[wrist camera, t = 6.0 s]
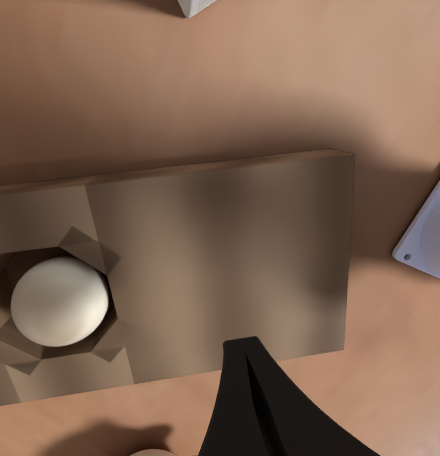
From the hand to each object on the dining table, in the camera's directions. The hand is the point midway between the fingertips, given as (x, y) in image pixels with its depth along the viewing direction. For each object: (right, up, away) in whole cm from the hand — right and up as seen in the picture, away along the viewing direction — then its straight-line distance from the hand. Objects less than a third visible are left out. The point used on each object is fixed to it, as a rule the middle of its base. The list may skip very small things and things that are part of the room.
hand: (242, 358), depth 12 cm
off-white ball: (-10, +1, +6) cm, 12 cm away
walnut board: (-5, +2, +9) cm, 10 cm away
